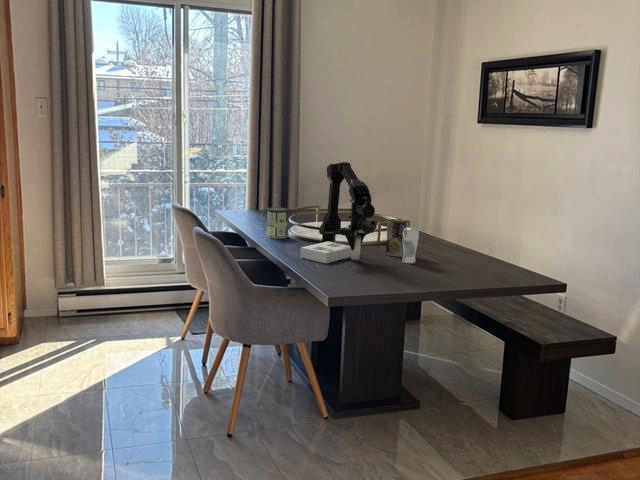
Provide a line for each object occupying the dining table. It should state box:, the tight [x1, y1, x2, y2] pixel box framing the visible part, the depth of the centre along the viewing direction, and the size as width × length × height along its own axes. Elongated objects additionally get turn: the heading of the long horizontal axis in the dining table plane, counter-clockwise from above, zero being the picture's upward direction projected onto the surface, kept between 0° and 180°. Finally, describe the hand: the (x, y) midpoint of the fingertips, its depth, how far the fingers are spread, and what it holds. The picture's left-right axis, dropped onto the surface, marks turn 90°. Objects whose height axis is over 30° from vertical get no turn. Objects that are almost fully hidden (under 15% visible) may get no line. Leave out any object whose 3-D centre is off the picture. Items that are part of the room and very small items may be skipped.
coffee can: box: [266, 206, 289, 239], centre depth 328 cm, size 10×10×14 cm
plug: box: [349, 235, 362, 261], centre depth 284 cm, size 4×4×10 cm
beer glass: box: [401, 226, 420, 265], centre depth 287 cm, size 7×7×15 cm
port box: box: [299, 241, 351, 264], centre depth 291 cm, size 20×14×5 cm
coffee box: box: [385, 218, 411, 258], centre depth 300 cm, size 9×6×16 cm
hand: (355, 249), depth 285 cm, fingers closed on plug, 4 cm apart
